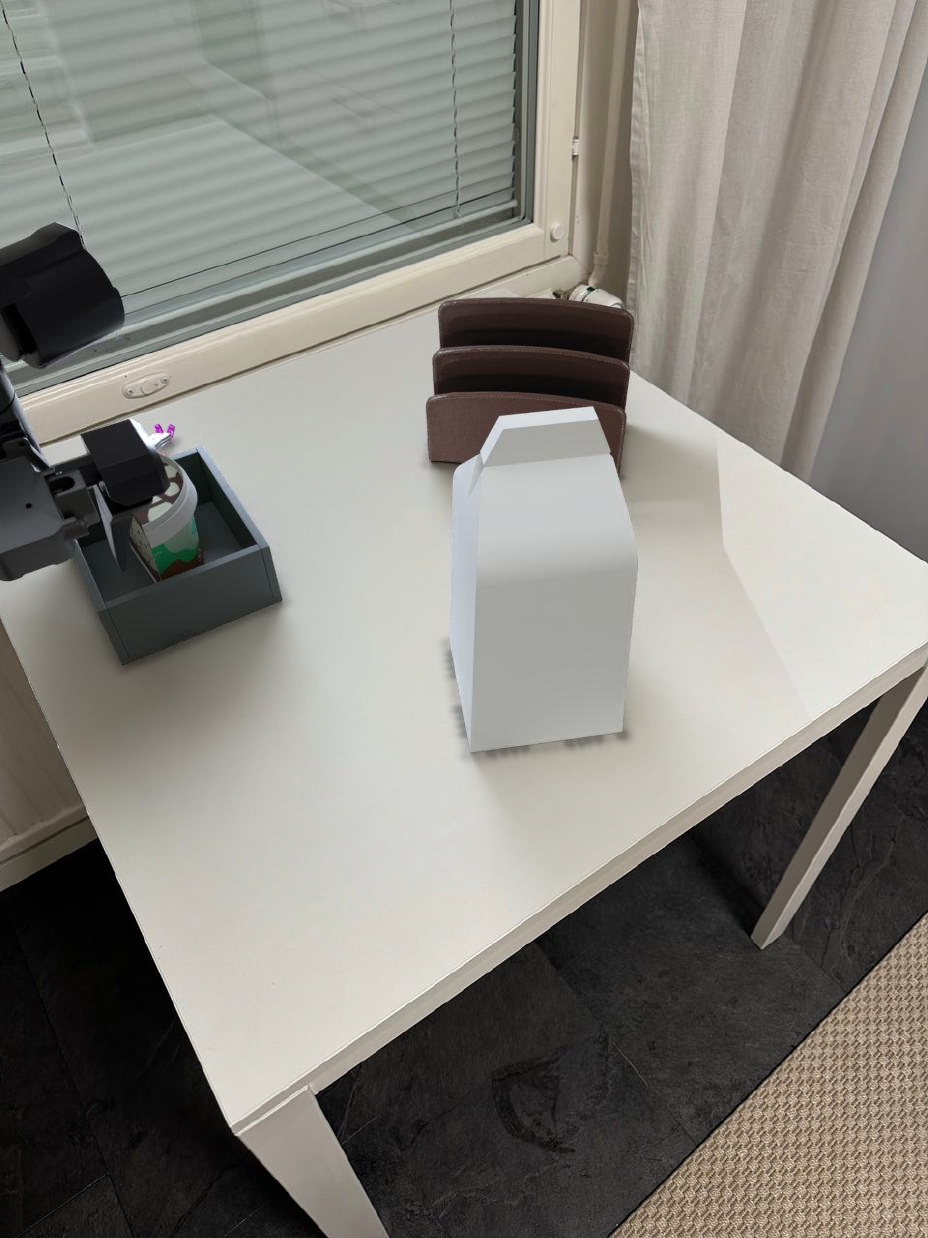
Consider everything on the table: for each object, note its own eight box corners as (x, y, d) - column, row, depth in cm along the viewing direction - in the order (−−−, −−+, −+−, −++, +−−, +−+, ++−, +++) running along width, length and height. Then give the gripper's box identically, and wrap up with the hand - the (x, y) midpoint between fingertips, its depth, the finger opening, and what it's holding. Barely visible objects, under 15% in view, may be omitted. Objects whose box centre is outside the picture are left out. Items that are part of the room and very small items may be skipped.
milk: (470, 752, 69) (464, 488, 49) (449, 641, 76) (437, 375, 57) (621, 732, 70) (674, 465, 50) (586, 624, 77) (620, 357, 58)
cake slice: (240, 585, 80) (215, 499, 73) (177, 615, 78) (144, 529, 71) (185, 513, 87) (157, 428, 80) (124, 539, 85) (90, 453, 78)
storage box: (122, 665, 75) (96, 612, 70) (72, 550, 85) (47, 497, 80) (282, 600, 80) (269, 545, 75) (218, 498, 90) (203, 444, 85)
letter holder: (442, 407, 100) (437, 288, 89) (621, 420, 97) (638, 298, 87) (427, 462, 93) (420, 340, 83) (619, 477, 91) (636, 353, 80)
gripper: (-208, 541, 44) (-63, 728, 55) (164, 422, 50) (224, 612, 61) (-221, 427, 50) (-90, 616, 62) (108, 334, 56) (172, 521, 68)
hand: (58, 592), depth 63 cm, fingers open, 9 cm apart
